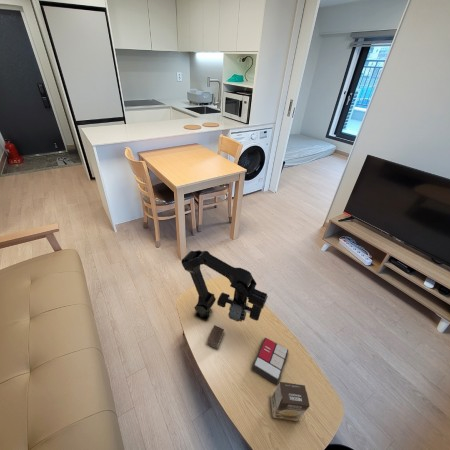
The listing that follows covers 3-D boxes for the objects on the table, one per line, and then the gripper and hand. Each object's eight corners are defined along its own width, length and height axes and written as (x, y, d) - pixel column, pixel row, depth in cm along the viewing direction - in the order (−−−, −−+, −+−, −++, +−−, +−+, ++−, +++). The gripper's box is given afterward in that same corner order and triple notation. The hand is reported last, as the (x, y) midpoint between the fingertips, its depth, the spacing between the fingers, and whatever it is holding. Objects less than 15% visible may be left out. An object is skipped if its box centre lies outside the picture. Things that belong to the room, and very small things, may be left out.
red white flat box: (289, 348, 103) (279, 380, 92) (286, 353, 106) (276, 385, 95) (265, 336, 108) (253, 364, 97) (263, 341, 110) (251, 369, 99)
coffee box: (272, 418, 86) (281, 403, 77) (270, 398, 91) (278, 381, 82) (297, 421, 85) (310, 406, 76) (294, 400, 91) (305, 384, 81)
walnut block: (207, 344, 108) (207, 339, 105) (214, 329, 114) (214, 324, 111) (217, 349, 106) (217, 344, 104) (223, 334, 112) (224, 329, 110)
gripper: (212, 302, 95) (211, 323, 104) (257, 320, 88) (252, 341, 97) (222, 282, 103) (220, 304, 112) (264, 297, 97) (258, 319, 106)
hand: (237, 316), depth 107 cm, fingers closed
